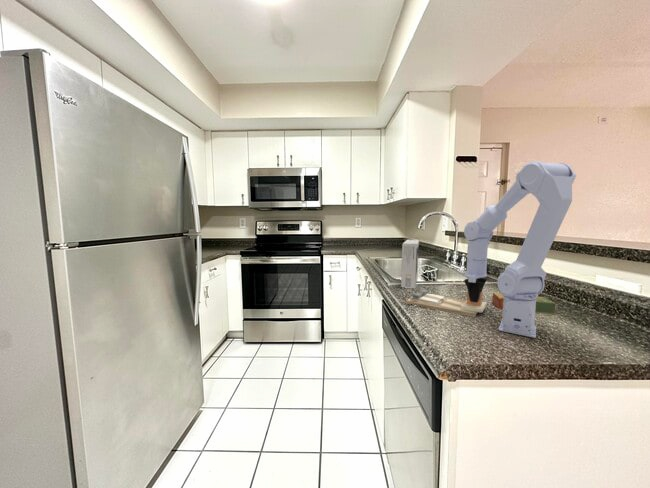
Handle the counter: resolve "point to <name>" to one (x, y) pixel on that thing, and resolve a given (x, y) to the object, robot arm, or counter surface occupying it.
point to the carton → (541, 304)
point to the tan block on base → (474, 304)
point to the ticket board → (439, 303)
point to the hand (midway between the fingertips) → (474, 300)
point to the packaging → (409, 263)
